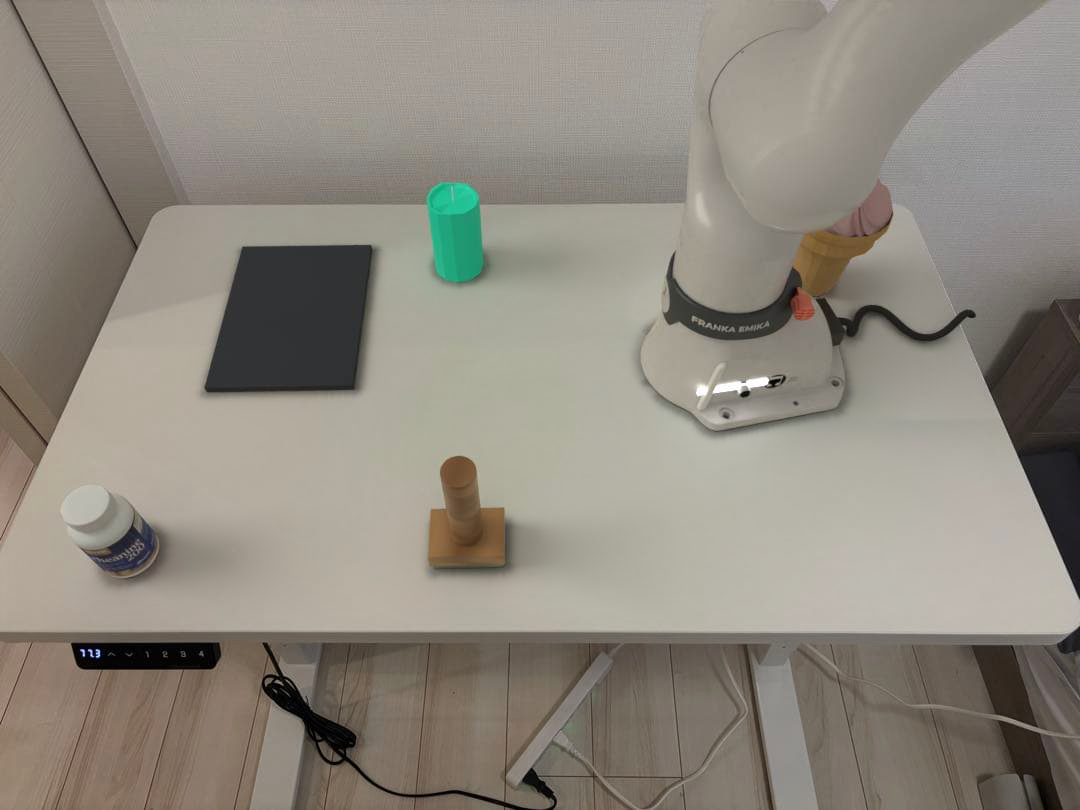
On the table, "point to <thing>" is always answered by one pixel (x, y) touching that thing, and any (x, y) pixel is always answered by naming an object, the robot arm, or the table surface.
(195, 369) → the table surface
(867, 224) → the ice cream cone
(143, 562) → the pill bottle
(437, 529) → the wooden stamp
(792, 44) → the robot arm
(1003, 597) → the table surface
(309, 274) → the mat
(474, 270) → the candle
